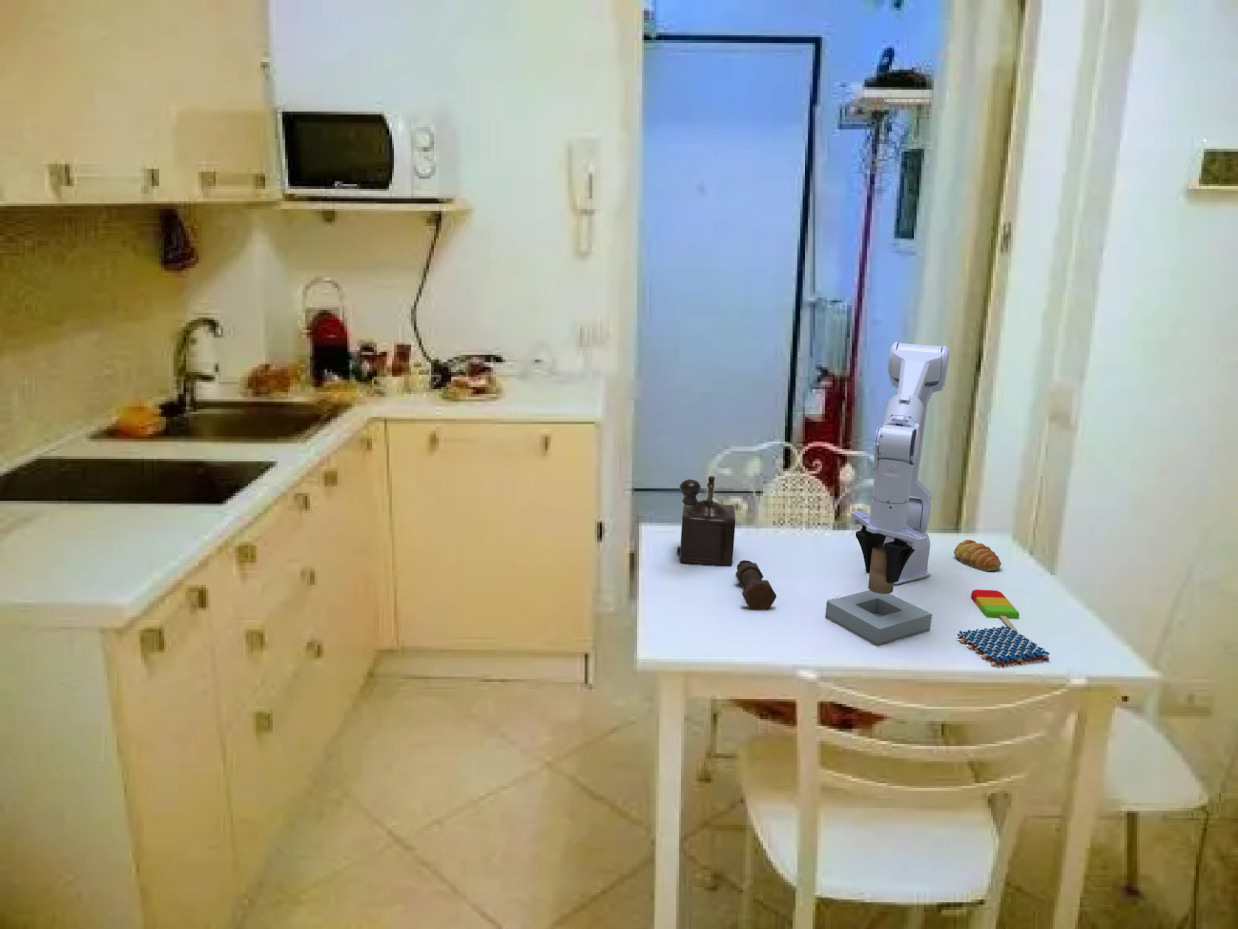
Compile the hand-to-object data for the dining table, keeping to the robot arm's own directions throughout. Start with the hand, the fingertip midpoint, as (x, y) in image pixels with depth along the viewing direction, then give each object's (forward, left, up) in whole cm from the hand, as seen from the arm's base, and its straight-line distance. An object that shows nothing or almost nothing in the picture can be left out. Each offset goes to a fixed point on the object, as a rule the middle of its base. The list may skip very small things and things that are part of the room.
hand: (881, 577), depth 150 cm
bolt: (+10, -20, -9) cm, 24 cm away
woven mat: (-11, +16, -9) cm, 21 cm away
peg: (0, 0, -2) cm, 2 cm away
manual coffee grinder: (+9, -37, -9) cm, 39 cm away
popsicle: (-22, +7, -9) cm, 25 cm away
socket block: (0, 0, -8) cm, 8 cm away
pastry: (-39, -11, -9) cm, 42 cm away
